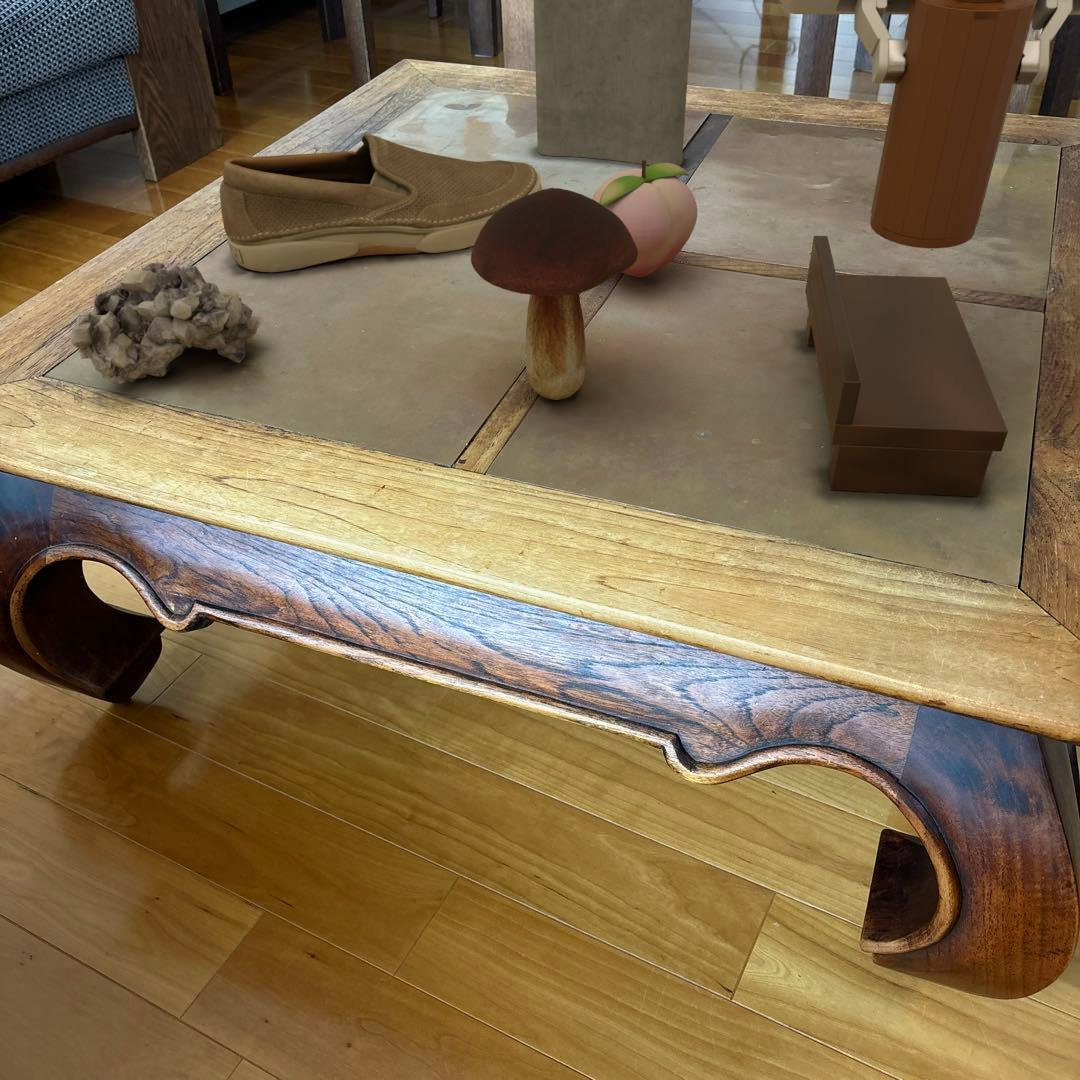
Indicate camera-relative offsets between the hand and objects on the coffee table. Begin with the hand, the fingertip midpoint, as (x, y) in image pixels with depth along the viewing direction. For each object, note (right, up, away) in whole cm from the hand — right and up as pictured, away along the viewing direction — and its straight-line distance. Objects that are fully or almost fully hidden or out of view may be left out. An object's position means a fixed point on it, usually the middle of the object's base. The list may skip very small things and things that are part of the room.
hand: (958, 79), depth 57 cm
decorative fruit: (-15, -3, +31) cm, 35 cm away
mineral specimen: (-51, -12, +22) cm, 57 cm away
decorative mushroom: (-22, -15, +17) cm, 32 cm away
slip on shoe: (-37, +3, +39) cm, 54 cm away
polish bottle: (0, -6, +6) cm, 9 cm away
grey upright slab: (-16, +15, +52) cm, 57 cm away
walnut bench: (+1, -16, +15) cm, 22 cm away
